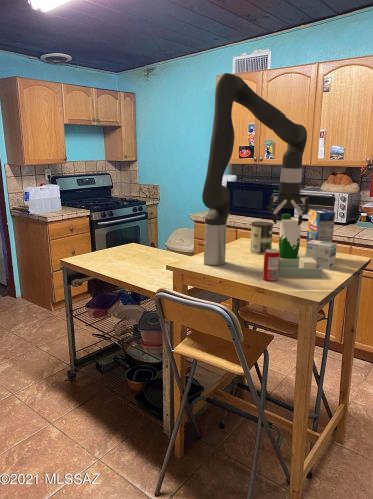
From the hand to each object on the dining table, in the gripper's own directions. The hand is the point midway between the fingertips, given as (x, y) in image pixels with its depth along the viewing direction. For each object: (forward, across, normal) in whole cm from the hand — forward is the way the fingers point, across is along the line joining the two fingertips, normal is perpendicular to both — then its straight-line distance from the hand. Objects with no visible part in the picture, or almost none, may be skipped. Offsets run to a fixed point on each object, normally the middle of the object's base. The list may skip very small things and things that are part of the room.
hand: (287, 224), depth 146 cm
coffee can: (+21, -12, +35) cm, 42 cm away
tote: (+20, +4, +5) cm, 21 cm away
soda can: (+21, -4, -7) cm, 22 cm away
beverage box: (+21, +14, +30) cm, 39 cm away
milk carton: (+21, +1, +28) cm, 35 cm away
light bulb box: (+21, +14, +17) cm, 30 cm away
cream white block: (+20, +9, +6) cm, 23 cm away
